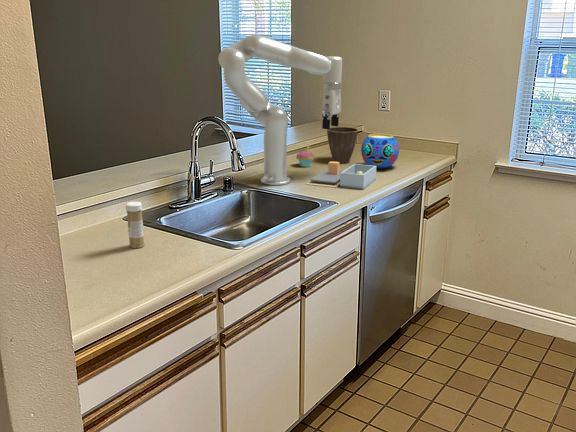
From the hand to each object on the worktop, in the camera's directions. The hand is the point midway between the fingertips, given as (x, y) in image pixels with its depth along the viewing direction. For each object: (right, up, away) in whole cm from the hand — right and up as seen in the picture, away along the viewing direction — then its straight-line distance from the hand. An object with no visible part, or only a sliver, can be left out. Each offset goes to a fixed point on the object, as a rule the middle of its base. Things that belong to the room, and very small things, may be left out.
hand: (330, 127), depth 254 cm
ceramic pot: (+25, -15, +24) cm, 38 cm away
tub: (+12, -24, -4) cm, 27 cm away
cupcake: (-10, -14, +27) cm, 32 cm away
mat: (0, -23, +1) cm, 23 cm away
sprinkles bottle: (-64, -47, -75) cm, 109 cm away
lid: (0, -21, 0) cm, 21 cm away
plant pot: (+8, -12, +35) cm, 38 cm away
